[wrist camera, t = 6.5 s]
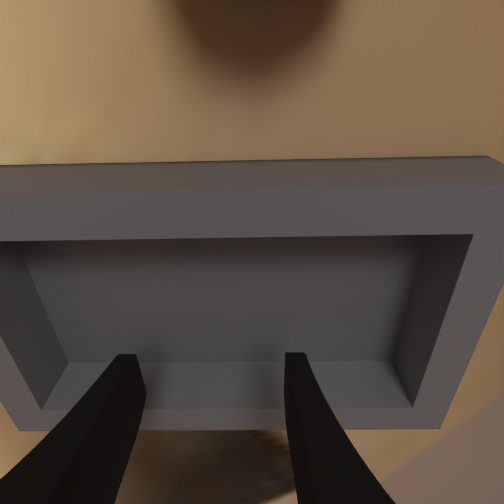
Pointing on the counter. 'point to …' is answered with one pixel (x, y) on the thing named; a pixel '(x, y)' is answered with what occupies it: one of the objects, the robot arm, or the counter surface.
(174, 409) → the tray
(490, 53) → the counter surface
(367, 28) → the counter surface
